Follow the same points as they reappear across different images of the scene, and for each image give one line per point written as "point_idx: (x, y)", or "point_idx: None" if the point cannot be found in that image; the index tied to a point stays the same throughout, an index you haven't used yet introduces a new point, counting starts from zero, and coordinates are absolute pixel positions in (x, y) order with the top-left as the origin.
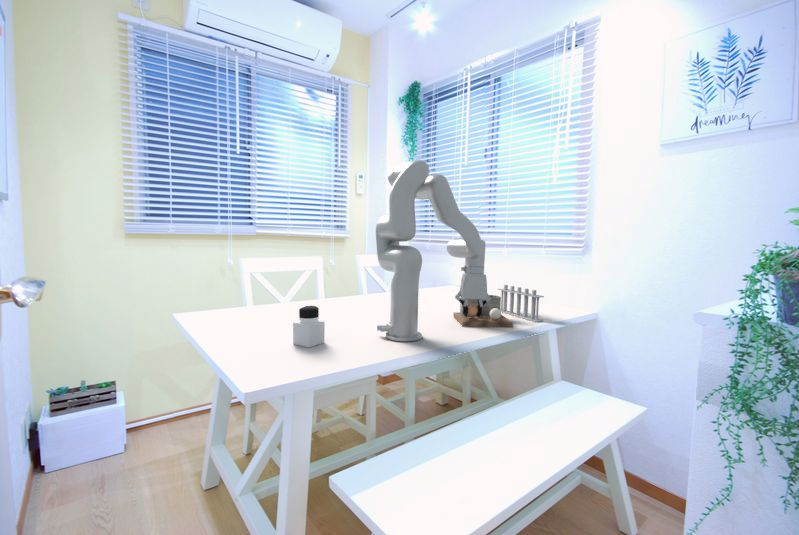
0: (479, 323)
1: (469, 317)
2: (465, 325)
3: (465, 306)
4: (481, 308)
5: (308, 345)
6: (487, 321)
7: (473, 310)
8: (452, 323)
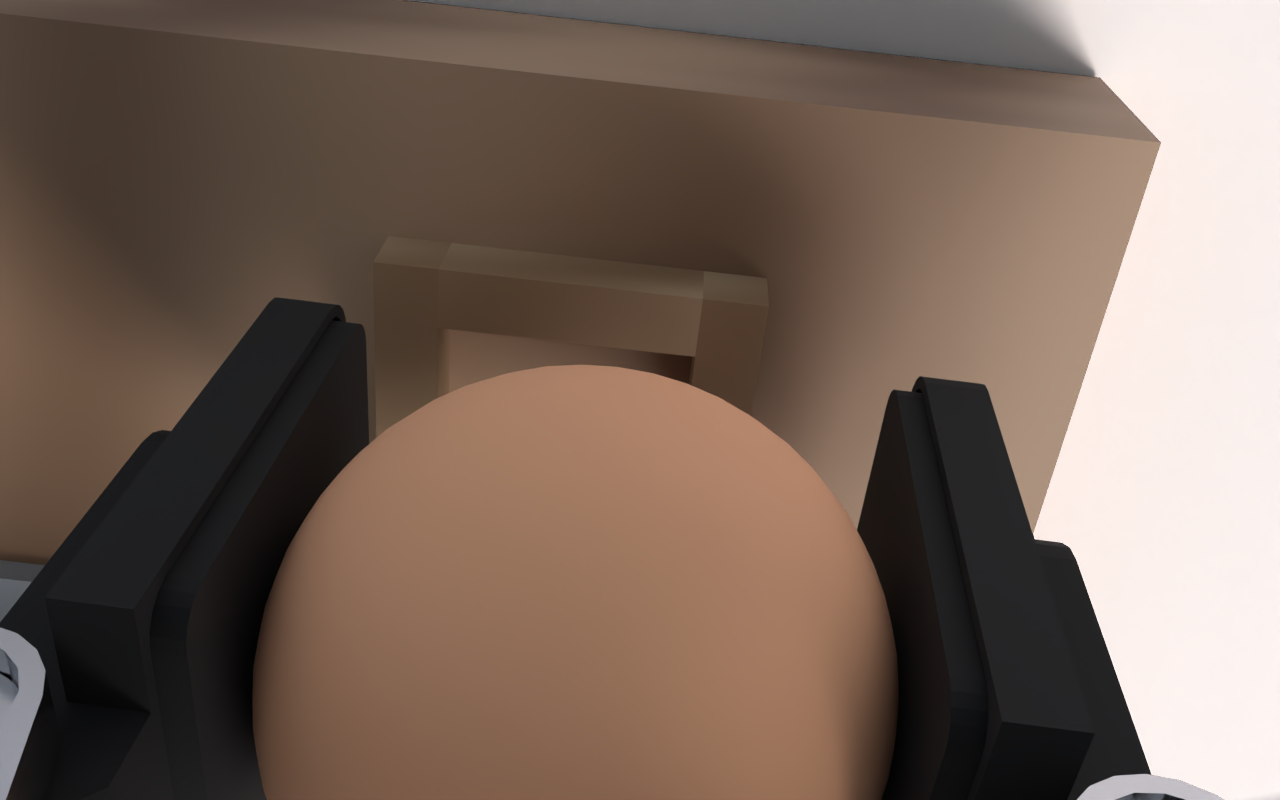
0: (409, 41)
1: None
2: (992, 75)
3: (1122, 781)
4: (22, 612)
5: None
6: (24, 103)
7: (612, 435)
8: (1188, 551)
